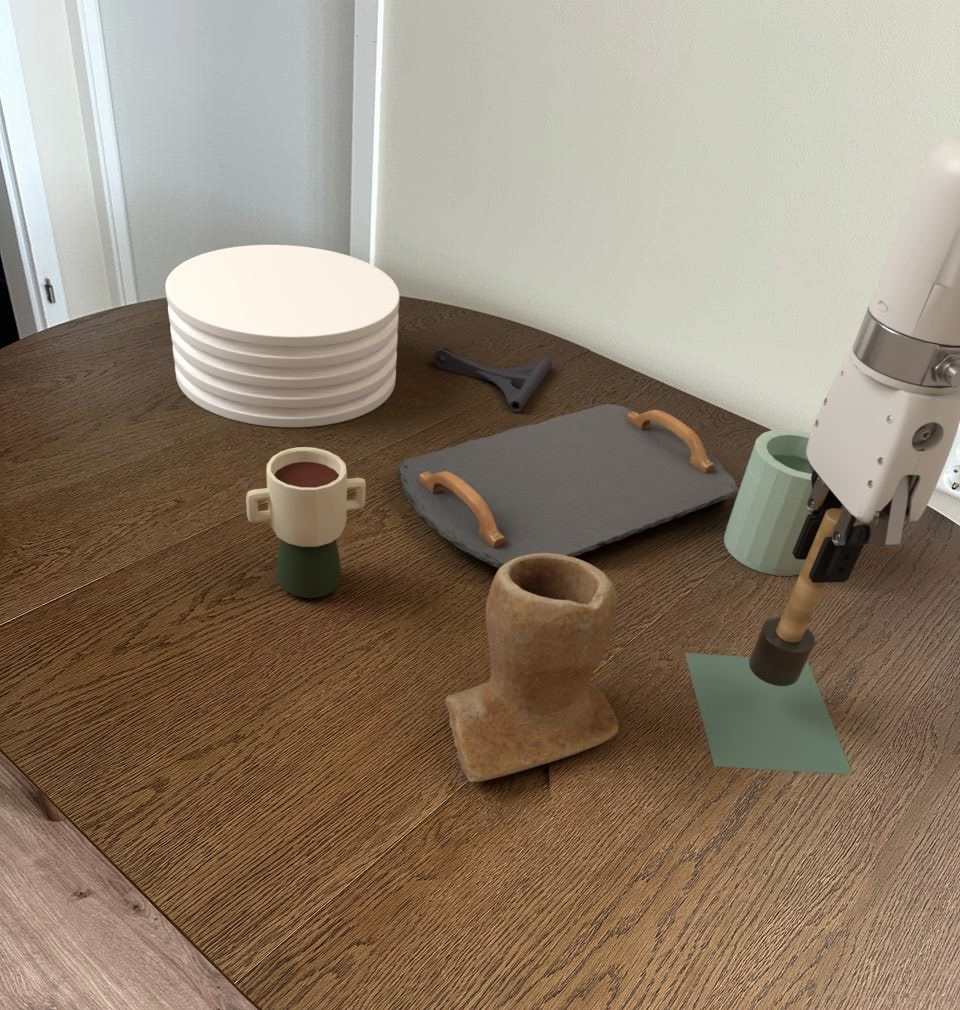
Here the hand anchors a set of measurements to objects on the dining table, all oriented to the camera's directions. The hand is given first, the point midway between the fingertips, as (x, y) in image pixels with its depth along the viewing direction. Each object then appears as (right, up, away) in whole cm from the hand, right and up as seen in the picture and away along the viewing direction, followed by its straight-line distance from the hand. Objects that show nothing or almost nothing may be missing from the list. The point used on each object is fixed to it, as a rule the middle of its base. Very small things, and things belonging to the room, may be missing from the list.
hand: (819, 566), depth 75 cm
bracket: (-26, +30, +54) cm, 67 cm away
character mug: (-43, 0, +17) cm, 47 cm away
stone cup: (-23, -13, +6) cm, 28 cm away
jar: (+5, +4, +30) cm, 30 cm away
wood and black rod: (-1, -8, +7) cm, 11 cm away
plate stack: (-52, +29, +49) cm, 77 cm away
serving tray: (-17, +10, +33) cm, 39 cm away
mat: (-2, -12, +10) cm, 16 cm away
